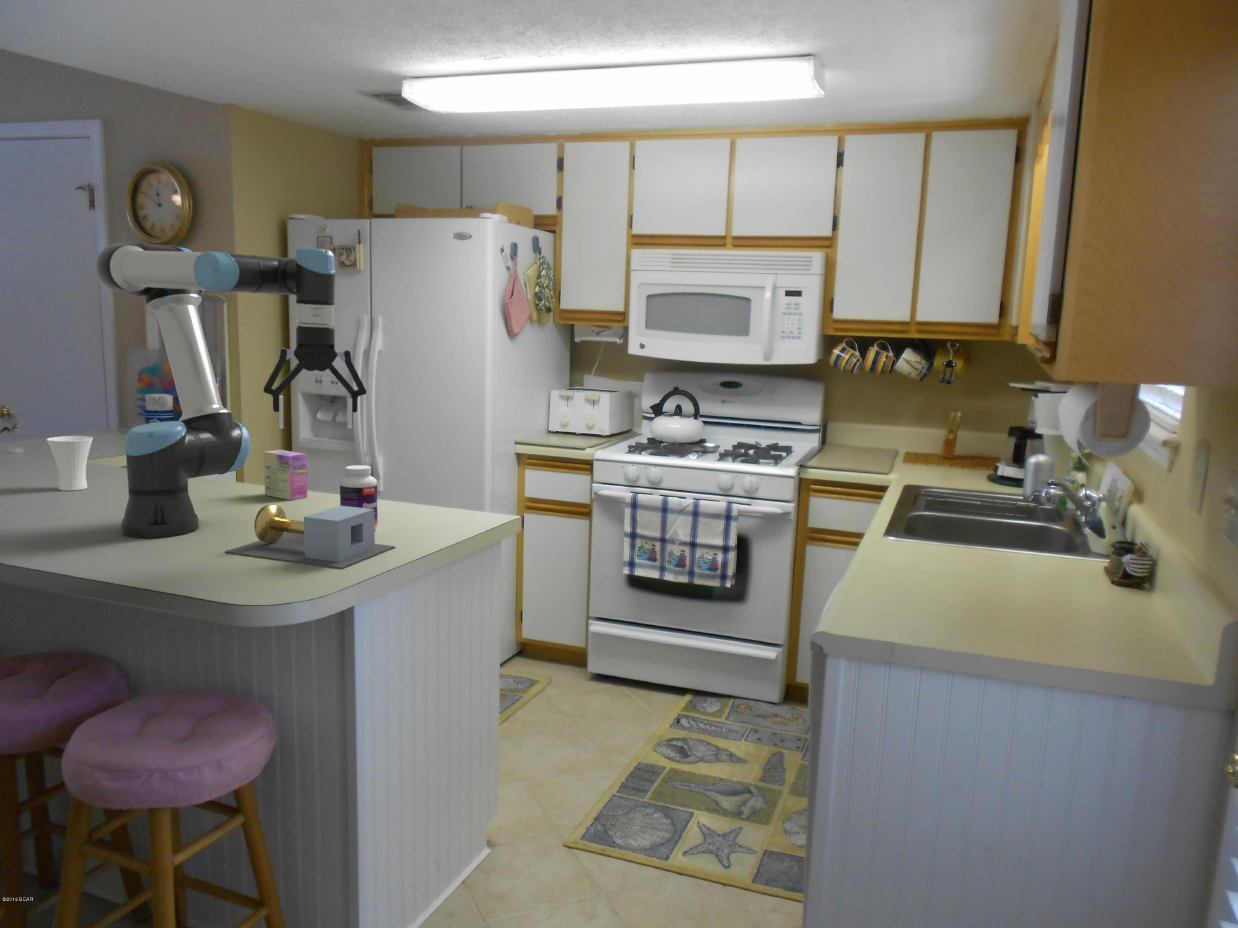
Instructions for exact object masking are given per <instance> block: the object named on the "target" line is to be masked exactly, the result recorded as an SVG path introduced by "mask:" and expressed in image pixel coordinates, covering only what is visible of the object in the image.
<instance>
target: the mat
mask: <svg viewBox="0 0 1238 928" xmlns="http://www.w3.org/2000/svg"><path fill="white" fill-rule="evenodd" d="M393 549H396V546H395V545H389V544H388V545H387V544H381V543H380V544H379V543H375V548H373V549H371V550H368V551H366V552H363V553H361V554H358V555H355V556H353V557H350V558H348V559H345V560H342V561H340V562H336V561H328V560H321V559H314V558H306V557H305V545H304V535H302V534H294V533H286V532H284V533H283V535H282V536H281V538H280V539H279V540H278V541H276V542H273V543H269V542H263V541H260V540H257V541H253V542H250V543H247V544H244V545H240V546H237V547H235V548H231V549H227V550H225V551H224V553H226V554H230V555H231V554H232V555H240V556H245V557H253V558H260V559H269V560H274V561H282V562H287V563H288V562H290V563H294V564H295V563H297V564H305V565H310V566H316V567H317V566H318V567H326V568H332V569H339V570H343V569H345V568H348V567H350V566H353V565H356V564H358V563H361V562H364V561H366V560H368V559H371V558H373V557H376V556H378V555H380V554H383V553H385V552H388V551H390V550H393Z"/></svg>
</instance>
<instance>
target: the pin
mask: <svg viewBox="0 0 1238 928" xmlns="http://www.w3.org/2000/svg"><path fill="white" fill-rule="evenodd" d="M253 525H254V526H253V527H254V534H255V536H256V538H257V539H258V541H263V542H269V543H273V542H276V541H278V540H279V539H280V538H281V536H282V535H283V533H285V532H286V533H294V534H302V535H304V520H300V519H289V518H287V516H286V512H285V510H284V509H283V508H282V506H279V505H276V504H275V505H274V504H266V505H264V506H262V507H261V508H260V509H259V511H258V512H257V514H256V516H255V518H254V524H253Z"/></svg>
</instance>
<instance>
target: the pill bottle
mask: <svg viewBox="0 0 1238 928" xmlns="http://www.w3.org/2000/svg"><path fill="white" fill-rule="evenodd" d="M344 469H345V475H346V476H344V477H343V478H341V479H340V481H339V497H340V498H339V503H340V504H339V506H349V507H358V508H367V509H374V529H375V530H376V529H377V528H378V526H379V525H378V481H377V479H376V478H375V477H373V476H372V474H371V473H372V467H371V465H365V464H363V465H361V464H360V465H359V464H357V465H349V466H345V468H344Z"/></svg>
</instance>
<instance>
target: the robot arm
mask: <svg viewBox="0 0 1238 928" xmlns="http://www.w3.org/2000/svg"><path fill="white" fill-rule="evenodd" d="M95 264H96V265H95V269H96V273H97V276H98V278H99V279H100V280H101V282H102V283H103V284H104V285H105V286H106V287H107V288H108V289H110V290H112V291H113V292H116V293H119V294H122V295H125V296H137V297H144V299H145V303H146V307H147V309H148V310H150V311H151V312H153V313H155V314H156V316H157V320H158V324H159V328H160V332H161V337H162V340H163V343H164V347H165V352H166V355H167V359H168V363H169V366H170V370H171V374H172V377H173V382H174V386H175V389H176V394H177V397H178V400H179V405H180V409H181V413H182V415H181V417H180V418H179V419H178V421H177V420H176V421H175V420H166V421H159V422H158V421H156V422H149V423H145V424H141V425H138V426H134V427H132V428H131V429H130V430H129V431H127V433H126V435H125V447H124V452H125V457H126V458H125V459H126V472H127V475H126V476H127V486H128V487H127V488H128V489H127V490H128V499H127V502H126V506H125V511H124V516H123V518H122V519H121V522H120V525H121V526H120V528H121V534H123V535H124V536H127V537H133V538H162V537H165V538H166V537H172V536H179V535H184V534H189V533H192V532H194V531H197V530H198V529H199V516H198V514H197V513H196V511H195V508H194V504H193V502H192V500H191V497H190V495H189V482H188V481H189V480H188V479H195V478H201V477H207V476H213V475H214V476H215V475H219V476H220V475H225V474H227V473H230V472H235V471H238V470H239V469H241V468H242V467H243V466H244V465H245V464H246V462H247V460H248V458H249V455H250V451H251V439H250V434H249V431H248V430H247V428H246V427H245V426H244V424H243V423H241V422H238V421H234V418H233V414H232V411H231V410H229V409H228V408H225V407H224V406H223V402H222V400H221V395H220V392H219V388H218V383H217V381H216V377H215V371H214V368H213V365H212V361H211V358H210V353H209V349H208V346H207V342H206V338H205V335H204V334H205V333H204V330H203V327H202V322H201V319H200V315H199V311H198V307H199V305H200V304H201V303H202V300H203V299H202V296H203V294H204V293H205V291H211V292H215V293H216V292H217V293H219V292H220V293H224V292H225V293H249V294H251V293H253V294H268V295H276V296H277V295H288V296H290V295H291V296H295V298H296V299H295V322H296V323H297V324H298V325H297V327H295V328H296V329H295V333H296V335H295V337H296V338H295V339H296V340H295V341H296V342H295V343H296V345H295V348H294V349H289V348H285V347H282V348H281V347H280V349H279V350H280V351H279V357H278V358H279V359H277V362H276V364H275V365H274V368H273V370H272V371H271V373H270V375H269V377H268V379H267V380H266V383H265V385H264V387H263V392H264V393H265V394H267V395H270V396H272V410H273V412H274V413H278V427H279V430H282V429H284V395H281V394H282V393H283V392H284V391H285V389H287V388H288V386H289V385H290V384H291V383H292V382H293V381H294V379H296V378H297V376H299V374H300V373H301V372H302V371H303V370H306V371H307V372H314V371H318V372H326V371H327V370H328V371H330V373H331V374H332V375H333V376H334V377H335V378H336V380H337V381H338V382H339V383H340V384H341V385H342V387H343V388H344V389H345V390H346V391H347V392H348V393H349V394H350V396H347V397H346V428H347V429H348V430H349V429H350V430H351V429H353V413H357V412H358V399H359V397H361V396H363V395H364V396H365V395H366V394H367V390H366V388H365V385H364V383H363V382H362V379H361V378H360V376H359V374H358V371H357V369H356V368H355V366H354V363H353V362H352V355H351V351H350V350H348V349H344V350H336V348H335V336H336V334H335V333H336V332H335V330H336V329H335V328H334V327H333V325H335V322H336V321H335V317H336V316H335V298H336V297H335V291H336V290H335V289H336V287H335V286H336V284H335V281H336V279H335V278H336V269H335V265H336V264H335V256H334V253H333V252H332V251H331V250H329V249H323V248H322V249H321V248H308V247H300V248H297V249H296V251H295V256H294V258H291V257H277V256H275V257H274V256H266V255H252V254H241V253H234V252H224V251H217V250H216V251H215V250H213V251H204V252H203V251H193V250H191V249H189V248H186V247H182V246H181V247H179V246H177V245H170V244H169V245H164V244H163V245H161V244H151V243H139V242H132V241H130V242H129V241H123V242H122V241H121V242H115V243H112V244H110V245H108V246H106V247H104V248H103V249H102V250H101V251H100V252H99V254H98V256H97V258H96V263H95ZM292 356H294V357H295V359H296V361H298V363H296V365H295V366H294V367H293V369H292V370H291V371H290V372H289V373H288V374H287V375H285V377H284V379H282V380H281V382H280V383H279V384H278V385H277V386H276V387H275V388H273V386H274V384H275V382H276V381H277V379H278V377H279V376H280V373H281V371H282V370H283V367H284V365H285V363H286V361H287V360H290V359H291V358H292ZM337 358H339V359H340V360H341V361H342V362H344V364H345V366H346V368H347V370H348V371H349V374H350V376H351V378H352V380H353V381H354V383H355V385H356V387H357V389H354V388H353V386H351V384H350V383H349V382H348V380H347V379H345V377H344V376H343V375H342V374H341V373H340V371H339V370H338V369H337V368H336V367H335V366H334V365H333V363H334V361H335V360H336V359H337Z"/></svg>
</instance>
